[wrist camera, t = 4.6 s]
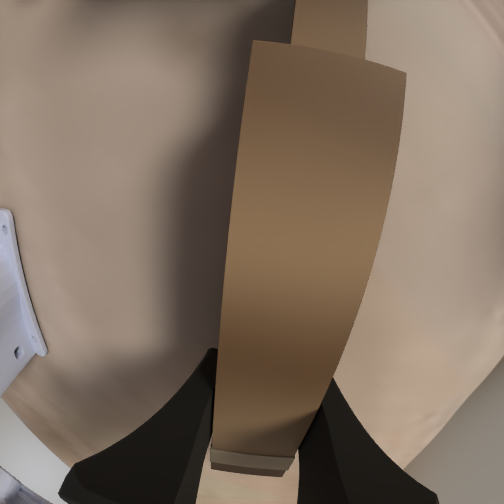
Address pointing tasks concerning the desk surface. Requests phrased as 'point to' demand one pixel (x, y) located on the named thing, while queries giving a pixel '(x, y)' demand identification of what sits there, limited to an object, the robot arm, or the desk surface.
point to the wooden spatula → (300, 229)
